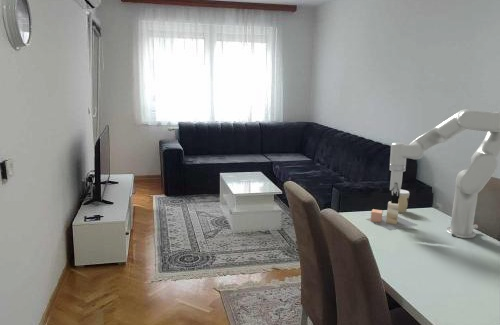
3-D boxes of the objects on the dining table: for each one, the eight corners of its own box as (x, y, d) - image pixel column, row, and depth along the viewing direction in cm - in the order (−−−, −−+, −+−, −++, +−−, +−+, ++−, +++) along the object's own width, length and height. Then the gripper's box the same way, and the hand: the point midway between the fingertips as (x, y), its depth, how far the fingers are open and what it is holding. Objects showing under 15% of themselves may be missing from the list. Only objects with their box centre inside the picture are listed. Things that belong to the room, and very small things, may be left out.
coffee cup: (410, 214, 217) (412, 193, 215) (393, 214, 217) (395, 193, 215) (403, 209, 227) (406, 189, 224) (387, 209, 227) (389, 188, 224)
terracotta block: (371, 218, 207) (372, 209, 206) (381, 219, 206) (382, 210, 204) (370, 221, 203) (371, 211, 202) (380, 222, 201) (381, 213, 200)
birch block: (387, 210, 205) (388, 201, 204) (398, 212, 203) (399, 202, 202) (386, 213, 200) (387, 203, 199) (397, 214, 198) (398, 205, 197)
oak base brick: (386, 219, 206) (387, 210, 205) (397, 221, 204) (398, 212, 203) (385, 222, 201) (386, 213, 200) (396, 224, 199) (397, 214, 198)
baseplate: (392, 216, 214) (392, 214, 214) (418, 226, 199) (418, 224, 199) (365, 220, 206) (365, 219, 206) (389, 232, 191) (390, 230, 191)
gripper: (391, 163, 206) (389, 195, 209) (388, 170, 190) (385, 204, 194) (406, 164, 203) (404, 197, 206) (404, 171, 187) (402, 206, 191)
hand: (395, 200), depth 200 cm, fingers open, 9 cm apart
